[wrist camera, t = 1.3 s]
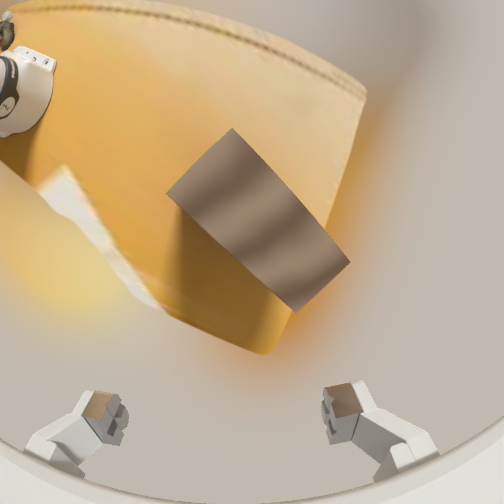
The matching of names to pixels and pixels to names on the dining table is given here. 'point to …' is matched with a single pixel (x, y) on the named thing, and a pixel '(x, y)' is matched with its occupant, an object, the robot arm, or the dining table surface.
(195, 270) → the dining table surface
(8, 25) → the eagle figurine
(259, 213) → the walnut box
